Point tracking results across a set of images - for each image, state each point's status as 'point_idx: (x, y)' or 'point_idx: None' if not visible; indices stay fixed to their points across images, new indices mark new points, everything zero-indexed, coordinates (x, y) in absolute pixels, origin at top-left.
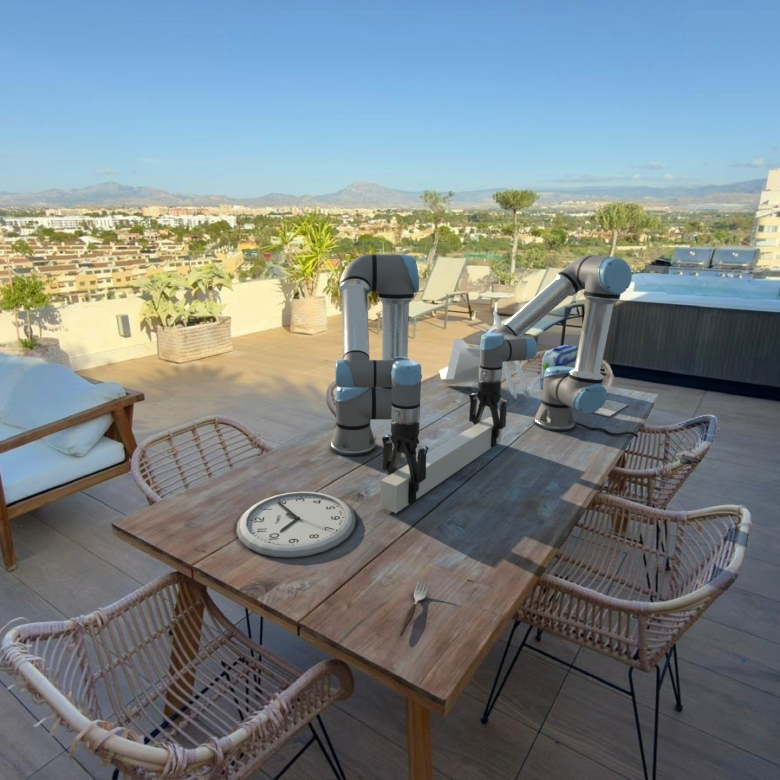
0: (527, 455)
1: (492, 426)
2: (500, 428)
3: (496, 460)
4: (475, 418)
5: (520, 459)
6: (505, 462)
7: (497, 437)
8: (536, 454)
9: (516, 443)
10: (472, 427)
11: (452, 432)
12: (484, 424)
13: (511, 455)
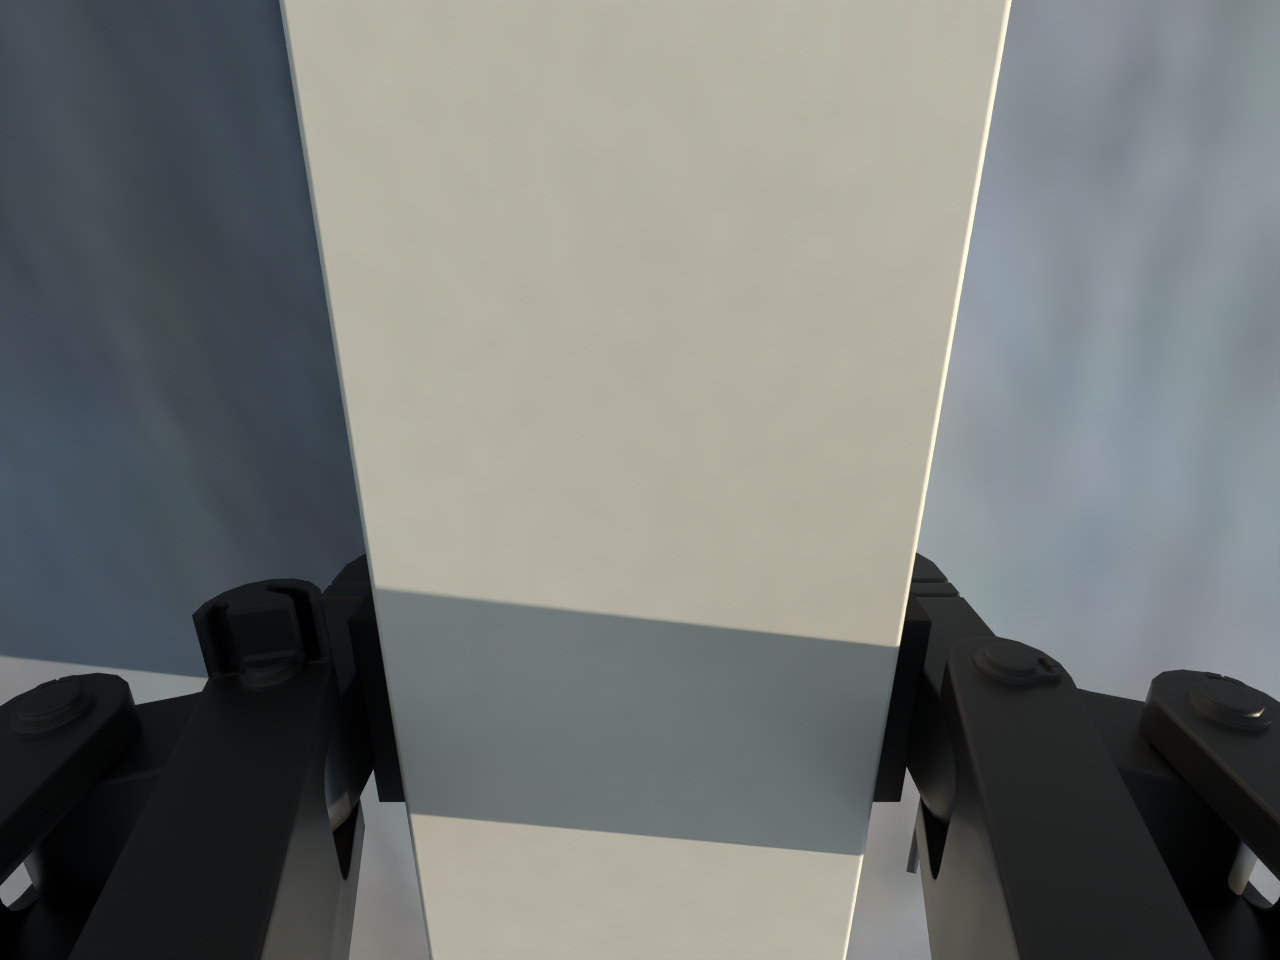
0: (79, 600)
1: (389, 692)
2: (94, 686)
3: (249, 143)
4: (1105, 790)
5: (43, 427)
6: (103, 169)
7: (361, 571)
8: (32, 688)
9: (403, 819)
10: (934, 111)
11: (1270, 668)
12: (667, 679)
13: (217, 472)
